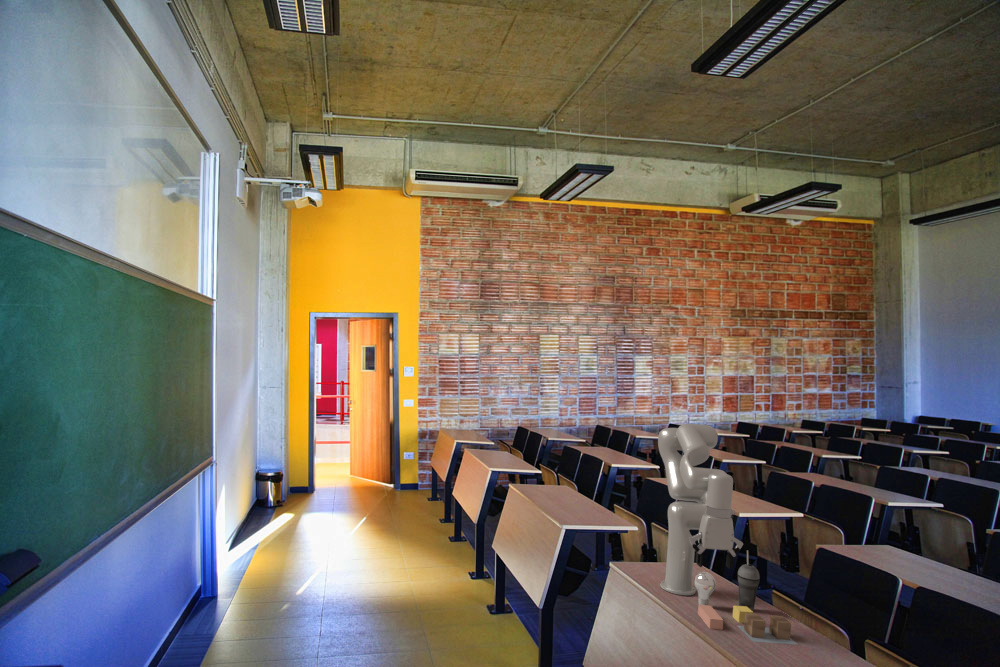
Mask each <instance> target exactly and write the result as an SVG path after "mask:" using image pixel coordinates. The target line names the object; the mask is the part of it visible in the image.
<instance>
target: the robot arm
mask: <svg viewBox="0 0 1000 667" xmlns="http://www.w3.org/2000/svg"><path fill="white" fill-rule="evenodd" d="M718 437H719V436H718V433H717V431H716V429H715V427H713V426H711V425H707V424H698V423H684V424H681V425H679V426H678V427H667V428H666V427H665V428H663V429H661V431H659V433H658V438H657V445H658V452H659V454H660V457H661V459H662V462H663V465H664V468H665V476H666V482H667V489H668V493H669V496H670V497H671V498H672V499H674V500H677V501H673V502H672V503H670V504H669V505H668V508H667V520H668V521H667V523H668V536H667V537H668V538H667V550H666V552H667V553H666V563H665V564H666V566H665V578H664V579H663V580H662V581H661V582H660V584H659V586H660V588H661V589H662V590H664V591H666V592H668V593H671V594H675V595H679V596H693V595H695V594H696V593H697V589H696V587H695V585H693V580H694V579H693V578H694V566H695V565H694V564H695V563H696V565H697V566H698V567H700V568H702V567H703V565H704V563H703V562H704V554H703V553H704V552H705V551H706V550H717V551H726V552H727V554H726V560H725V561H726V562H725V567H726V568H728V569H729V570H733V567H734V561H735V557H736V556H737V554H738V553H739V552H740V551H741V549H742V547H743V545H744V543H743V541H741V540H740V539H738V538H736V537H735V532H734V521H733V518H732V516H733V515H735V514H736V511H735V510H734V509H732V505H733V504H732V500H733V490H734V487H733V485H734V478H733V476H731V475H730V474H729V473H728V474H727V472H726V471H724V470H722V469H717V468H710V467H709V468H706V467H697V466H698V465H701V464H703V463H705V462H706V461H707V460H708V459H709V457H710V456H711V455H710V454H711V451H710V450H713V449H714V448H715V447H716V446H717V445H718V444H717V443H718ZM678 451H681V452H683V455H681V454H680V453H679V452H678ZM690 530H696V531H697V530H698V533H697V534H695V535H692V534H691V532H690ZM696 542H698V545H697V544H696ZM734 543H735V544H736V545H735V546H734ZM695 552H696V553H695Z"/></svg>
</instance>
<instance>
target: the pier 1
mask: <svg viewBox="0 0 1000 667" xmlns="http://www.w3.org/2000/svg"><path fill="white" fill-rule="evenodd" d="M743 624H744V625H743V626H744V630H745V631H746V632H747V633H748V634H749V635H750V636H751V637H757V638H764V635H765V627H766V620H765V619H764V618H762V617H761V615H759V614H756V613H753V614H746V613H745V622H744V623H743Z"/></svg>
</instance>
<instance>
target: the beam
mask: <svg viewBox="0 0 1000 667" xmlns="http://www.w3.org/2000/svg"><path fill="white" fill-rule="evenodd" d="M697 615H698V616H699V617H700V618H701V620H702V621H703V622H704V623H705V625H706V626H707V628H709V629H710V630H722V631H723V628H724V619H723V618H722V617H721V616H720V615H719V613H718V612H717V611H716V610H715V609H714V608H713V606H711V605H709V604H708V605H699V604H698V608H697Z"/></svg>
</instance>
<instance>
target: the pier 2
mask: <svg viewBox="0 0 1000 667" xmlns="http://www.w3.org/2000/svg"><path fill="white" fill-rule="evenodd" d="M768 628H769V632H770V633H771V634H772V635H773V636H774V637H776V638H777V639H785V640H790V638H791V630H792V629H791V628H792V623H791V621H789V620H788V619H787V618H786V617H785V616H783V615H769V626H768Z"/></svg>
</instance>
